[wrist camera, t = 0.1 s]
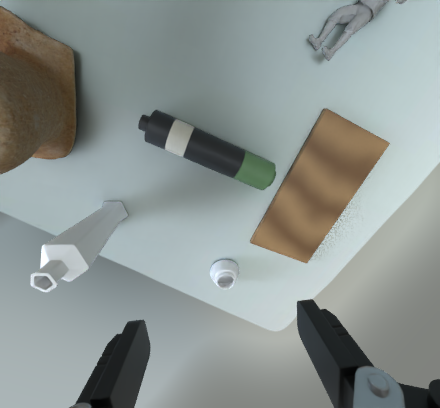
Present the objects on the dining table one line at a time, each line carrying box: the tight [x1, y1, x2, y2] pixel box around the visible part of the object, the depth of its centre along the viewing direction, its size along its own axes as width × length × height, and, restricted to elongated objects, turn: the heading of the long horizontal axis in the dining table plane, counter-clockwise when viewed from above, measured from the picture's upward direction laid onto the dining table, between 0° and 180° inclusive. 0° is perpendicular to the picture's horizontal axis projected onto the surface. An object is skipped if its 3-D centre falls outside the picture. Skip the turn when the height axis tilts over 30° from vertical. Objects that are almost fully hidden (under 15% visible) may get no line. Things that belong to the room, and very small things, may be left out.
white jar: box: [210, 260, 239, 289], centre depth 36 cm, size 5×3×5 cm
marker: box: [139, 110, 276, 190], centre depth 28 cm, size 18×4×4 cm, turn 66°
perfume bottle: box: [31, 201, 128, 292], centre depth 25 cm, size 5×4×15 cm
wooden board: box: [250, 109, 390, 263], centre depth 32 cm, size 22×11×1 cm, turn 156°
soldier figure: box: [309, 0, 406, 61], centre depth 23 cm, size 8×5×12 cm
